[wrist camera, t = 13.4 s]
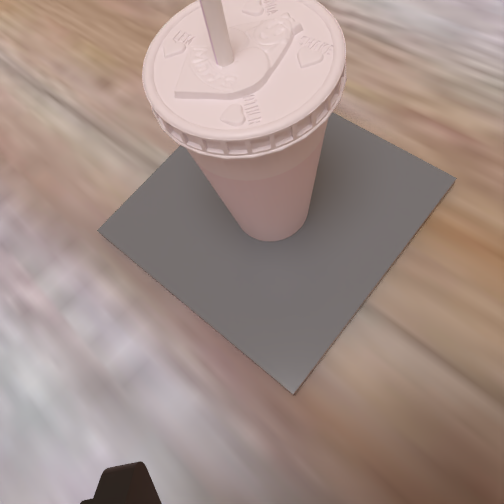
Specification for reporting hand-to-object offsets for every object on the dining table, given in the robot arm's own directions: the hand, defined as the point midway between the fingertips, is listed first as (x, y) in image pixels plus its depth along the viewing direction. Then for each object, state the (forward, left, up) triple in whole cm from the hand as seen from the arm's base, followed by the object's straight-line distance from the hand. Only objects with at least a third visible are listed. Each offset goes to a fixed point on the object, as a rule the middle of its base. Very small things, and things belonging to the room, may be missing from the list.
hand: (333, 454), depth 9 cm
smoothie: (-9, +7, -9) cm, 14 cm away
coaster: (-9, +7, -10) cm, 15 cm away
